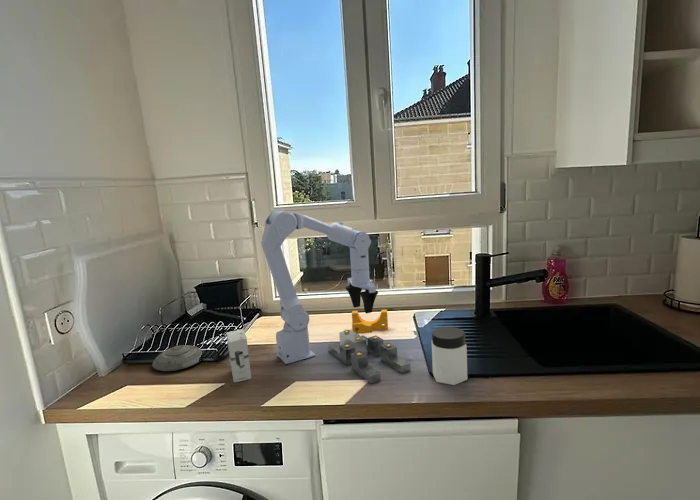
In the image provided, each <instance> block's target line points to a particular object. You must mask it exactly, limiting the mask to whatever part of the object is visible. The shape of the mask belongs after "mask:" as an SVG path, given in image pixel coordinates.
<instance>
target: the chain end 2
mask: <svg viewBox="0 0 700 500" xmlns="http://www.w3.org/2000/svg"><path fill="white" fill-rule="evenodd" d="M380 352H381V355H380V360H381V361H382V362H383V363H384V364H386V365H388V366H390V367H391V368H393V369H394V370H396V371H397V372H399V373H400V374H402V373H406V372H409V371H411V363H410V362H409V361H407V360H406V359H404V358H402V357H401V356H400V355H398V346H396V345H394V344H392V343H390V342H386V343H383V344H382V345H380ZM351 363H352V364H351V370H352V371H354V372H355V373H356V374H357V375H359V376H360V377H361V378H363V379H364V380H366V381H367V383H369V384H373V383H377V382H380V381H381V372H380V371H378V370H376V368H374V367H372V366H371V365H370V364H369V356H368V354H367V355H365V354H364V353H362V352H361V351H359V352H356V353H352V354H351Z"/></svg>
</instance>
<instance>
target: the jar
mask: <svg viewBox="0 0 700 500" xmlns="http://www.w3.org/2000/svg"><path fill="white" fill-rule="evenodd" d="M465 332H466V331H464V330H463V329H461V328H457V327H453V326H442V327H438V328H435V329H433V331H432V332H431V337H432V338H431V341H430V342H431V360H432V363H431V366H432V375H433V377H434V380H435V382H436V383H441V384H444V385H445V384H446V385H452V386H456V385H458V384H460V383H462V382H463V383H464V382H465V381H467V380H468V350H467V348H468V347H467V344H466V333H465Z"/></svg>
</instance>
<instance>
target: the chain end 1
mask: <svg viewBox="0 0 700 500" xmlns="http://www.w3.org/2000/svg"><path fill="white" fill-rule="evenodd" d="M361 336H362V337H363V338H365V339H366V344H367V353H370V354H371V355H373V356H374V357H378V356H381V352H380V345H382V344H384V338H381V337H380V336H378V335H373V336H369V337H367V336H365V335H361ZM327 349H328V352H329V353H330V354H332V355H333V356H334V357H336V359H338V360H340V361H341V362H342V363H343V364H344V365H346V366H350V365H352V363H351V354H352V353H355V347H353V346H352V345H350V344H349V343H347V344H344V345H340V343H338V342H335V343H331V344H328V345H327Z"/></svg>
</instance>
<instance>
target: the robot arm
mask: <svg viewBox="0 0 700 500" xmlns="http://www.w3.org/2000/svg"><path fill="white" fill-rule="evenodd" d="M301 229H308V230H311V231H314V232H318V233H321V234H325V235H326V237H327V239H328V240H329V241H331V242H334V243H337V244H339V245H342V246H346V247H348V248H349V256H350V258H349V260H350V272H351V273H350V274H351V277H347V285H348V286H345V290H346V291H347V293H348V295H349V298H350V301H351V303H352V304H351V305H352V307H353V308H360V307H361V300H362V303H363V310H364V313H365V314H371V313H372V312H373V308H374V302H375V300H376V298H377V296H378V295H379V292H378V290H377V289H376V288H377V286H376V285H375V284H373V283H374V282H373V281H374V280H373V279H370V262H369V259H370V258H369V249H370V246H371V244H372V239H371V238H370V236H369V234H368V233H367V232H366V231H362V230H361V231H360V230H357V227H354V226H352V227H350V226H347V225H345V224H344V222H342V221H338V222H332V223H326V222H324V221H321V220H319V219H317V218H313V217H311V216H308V215H305V214H301V213H298V212H297V213H295V212H292V211H289V210H287V211H286V210H281V209H275V210H273V211H271V212H270V213H269V215H268V216H267V217H266V219H265V220H264V229H263V233H262V237H261V239H262V240H261V248H262V251H263V253H264V256H265V259H266V262H267V264H268V267H269V271H270V274H271V277H272V280H273V283H274V286H275V289H276V291H277V295H278V297H279V305H280V312H279V313H280V318H281V319H282V321H284V323H283V328H282V329H281V330H279V331H276V333H275V338H276V339H275V341H276V348H277V351H276V352H277V354H276V355H277V357H278V358H279V359H280V360H281V361H282V362H283V363H284V364H285V365H287V364H292V363H295V362H298V361H302V360H305V359H309V358H313V357H315V356H316V354H315V353H314V352H313V351H312V350H311V347H310V345H311V344H310V337H309V327H308V326H309V323H310V315H309V312H307V311H306V310H305V309H304V307H303V304H302V303H301V301H300V299H299V297H298V295H297V292H296V289H295V286H294V283H293V281H292V277H291V273H290V271H289V268H288V264H287V262H286V259H285V256H284V253H283V250H282V245H283V243H284V241H286V239H287V238H288V237H289V236H290V235H291V234H293V232H295V230H301ZM363 290H364V291H363Z"/></svg>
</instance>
